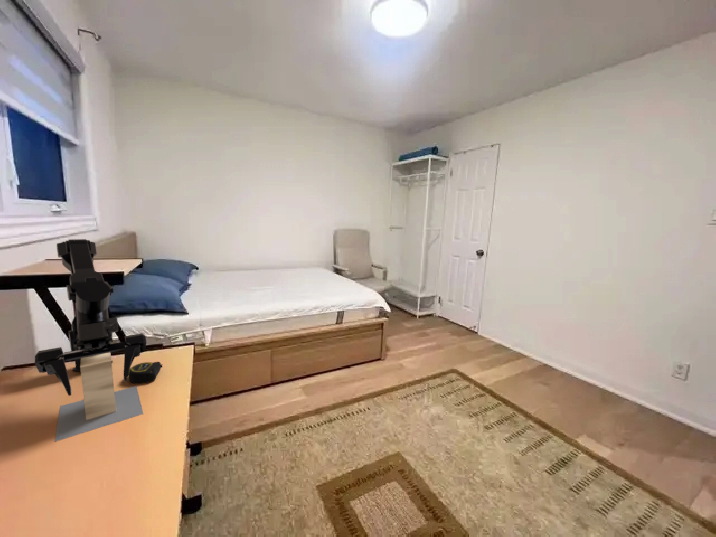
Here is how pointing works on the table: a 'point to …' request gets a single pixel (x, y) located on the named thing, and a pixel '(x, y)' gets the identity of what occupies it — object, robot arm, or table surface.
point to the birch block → (98, 385)
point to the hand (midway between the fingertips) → (98, 387)
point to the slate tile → (75, 416)
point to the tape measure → (144, 372)
